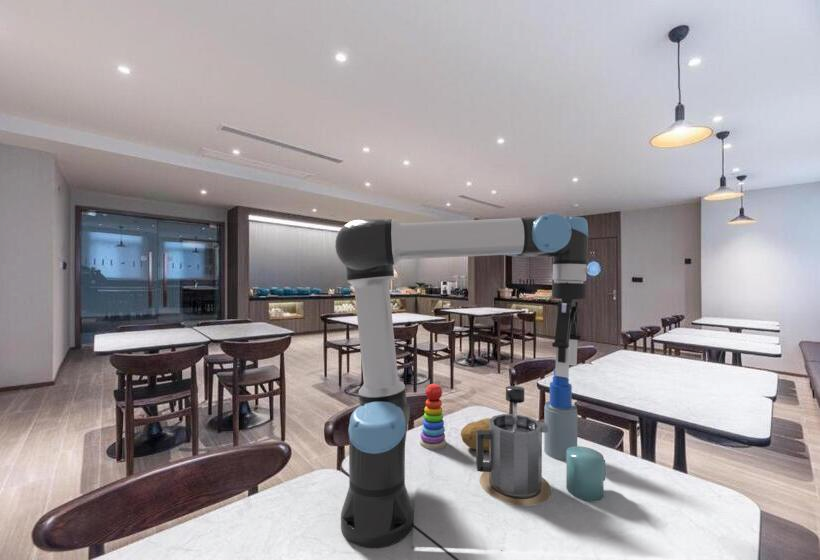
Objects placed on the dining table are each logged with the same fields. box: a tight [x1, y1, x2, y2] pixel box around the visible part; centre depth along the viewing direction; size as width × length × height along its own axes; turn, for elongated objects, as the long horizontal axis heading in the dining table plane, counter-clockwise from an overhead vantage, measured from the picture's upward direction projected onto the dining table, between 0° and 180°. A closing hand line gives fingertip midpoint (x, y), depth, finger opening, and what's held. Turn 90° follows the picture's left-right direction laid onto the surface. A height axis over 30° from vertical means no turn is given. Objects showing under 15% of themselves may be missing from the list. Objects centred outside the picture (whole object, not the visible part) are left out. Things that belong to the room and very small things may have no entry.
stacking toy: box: [419, 383, 447, 450], centre depth 112 cm, size 8×8×19 cm
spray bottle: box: [543, 368, 578, 462], centre depth 106 cm, size 9×9×25 cm
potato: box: [460, 417, 492, 452], centre depth 109 cm, size 9×16×9 cm, turn 88°
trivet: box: [479, 472, 553, 507], centre depth 90 cm, size 17×17×1 cm
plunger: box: [501, 385, 529, 432], centre depth 90 cm, size 9×9×12 cm
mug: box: [565, 445, 606, 502], centre depth 87 cm, size 10×8×10 cm
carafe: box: [475, 413, 548, 499], centre depth 90 cm, size 17×12×15 cm
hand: (566, 370), depth 88 cm, fingers open, 13 cm apart
